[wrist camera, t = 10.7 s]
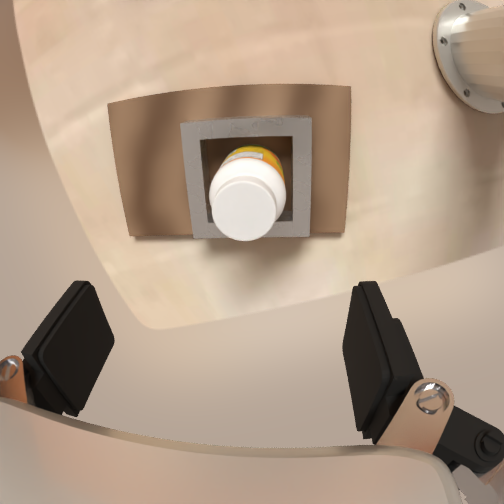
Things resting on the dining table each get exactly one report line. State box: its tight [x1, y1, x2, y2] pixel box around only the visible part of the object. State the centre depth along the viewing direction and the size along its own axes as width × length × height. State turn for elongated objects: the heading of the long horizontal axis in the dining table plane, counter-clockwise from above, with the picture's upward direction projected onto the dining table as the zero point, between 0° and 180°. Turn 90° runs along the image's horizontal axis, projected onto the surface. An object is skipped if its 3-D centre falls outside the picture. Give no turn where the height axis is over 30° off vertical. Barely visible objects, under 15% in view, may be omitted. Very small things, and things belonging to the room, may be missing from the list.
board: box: [108, 84, 351, 236], centre depth 27 cm, size 22×14×1 cm, turn 92°
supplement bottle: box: [209, 144, 286, 241], centre depth 23 cm, size 5×5×10 cm
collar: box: [180, 115, 312, 238], centre depth 26 cm, size 10×10×2 cm
